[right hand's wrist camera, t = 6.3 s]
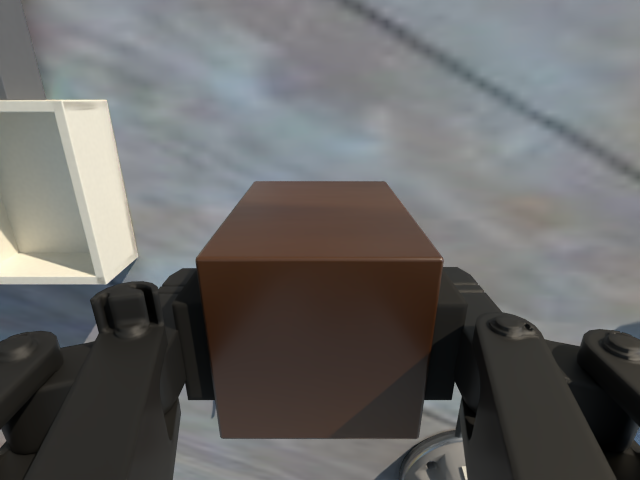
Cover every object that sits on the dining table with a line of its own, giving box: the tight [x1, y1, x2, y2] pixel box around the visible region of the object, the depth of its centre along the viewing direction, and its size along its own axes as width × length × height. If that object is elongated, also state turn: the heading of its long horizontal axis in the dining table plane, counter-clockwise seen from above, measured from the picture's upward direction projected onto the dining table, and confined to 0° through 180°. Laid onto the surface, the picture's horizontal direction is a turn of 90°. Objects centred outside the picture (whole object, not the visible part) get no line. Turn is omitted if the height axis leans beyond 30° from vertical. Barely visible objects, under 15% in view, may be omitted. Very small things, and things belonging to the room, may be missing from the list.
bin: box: [0, 0, 138, 284], centre depth 28 cm, size 27×12×6 cm, turn 0°
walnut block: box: [196, 181, 444, 439], centre depth 11 cm, size 5×5×7 cm
